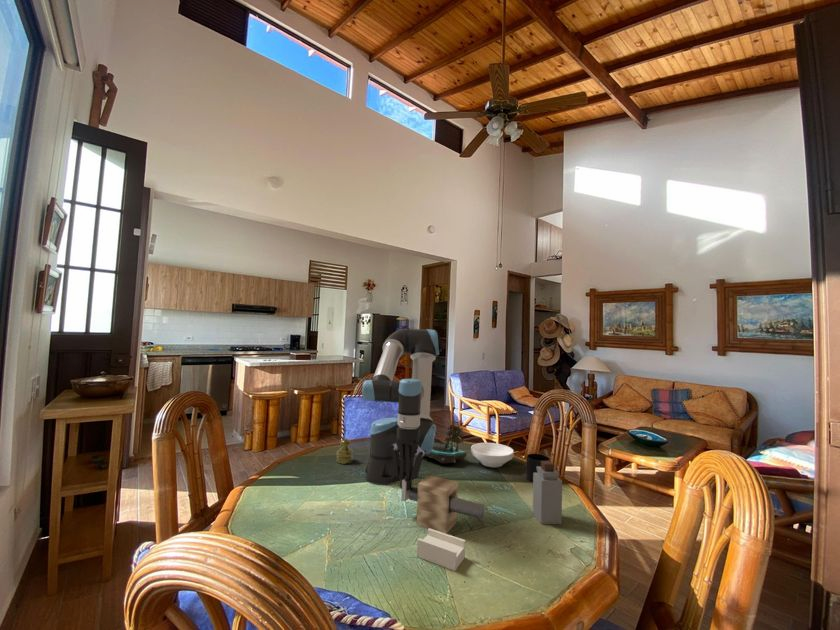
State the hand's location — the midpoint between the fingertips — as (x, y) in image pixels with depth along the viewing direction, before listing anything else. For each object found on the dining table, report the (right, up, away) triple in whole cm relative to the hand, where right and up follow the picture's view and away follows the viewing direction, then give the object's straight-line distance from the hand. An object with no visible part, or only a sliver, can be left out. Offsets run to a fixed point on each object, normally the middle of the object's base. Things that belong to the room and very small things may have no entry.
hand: (405, 499), depth 117 cm
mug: (+55, -9, +32) cm, 64 cm away
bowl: (+38, -9, +48) cm, 62 cm away
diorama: (+14, -9, +55) cm, 57 cm away
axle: (+13, 0, -6) cm, 14 cm away
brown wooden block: (+10, -5, -5) cm, 12 cm away
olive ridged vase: (-30, -7, +46) cm, 55 cm away
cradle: (+10, -4, -22) cm, 25 cm away
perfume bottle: (+46, -6, 0) cm, 47 cm away
